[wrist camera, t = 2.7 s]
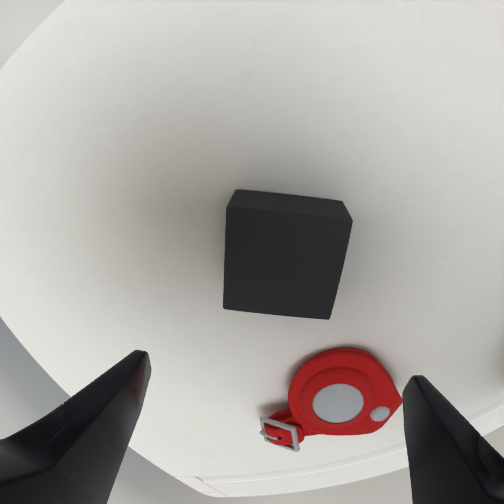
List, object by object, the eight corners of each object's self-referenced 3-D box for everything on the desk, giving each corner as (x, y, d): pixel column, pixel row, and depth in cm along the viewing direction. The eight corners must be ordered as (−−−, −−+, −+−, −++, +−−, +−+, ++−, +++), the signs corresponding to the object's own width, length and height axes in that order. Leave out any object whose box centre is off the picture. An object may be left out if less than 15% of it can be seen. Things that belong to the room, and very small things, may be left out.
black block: (324, 290, 20) (329, 320, 17) (230, 281, 20) (222, 309, 17) (342, 200, 17) (353, 220, 14) (235, 188, 17) (226, 206, 15)
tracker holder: (312, 339, 20) (429, 389, 19) (315, 316, 24) (416, 362, 23) (244, 447, 23) (344, 484, 22) (256, 418, 27) (345, 453, 26)
